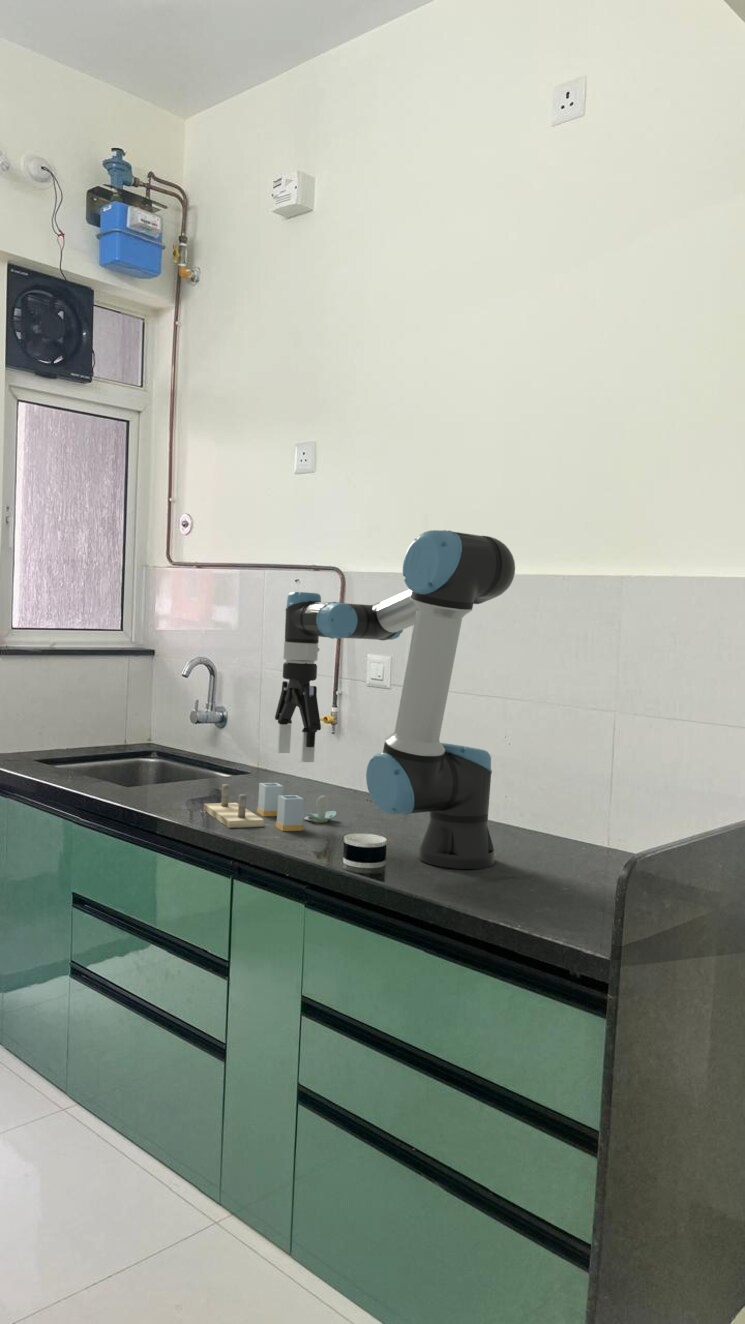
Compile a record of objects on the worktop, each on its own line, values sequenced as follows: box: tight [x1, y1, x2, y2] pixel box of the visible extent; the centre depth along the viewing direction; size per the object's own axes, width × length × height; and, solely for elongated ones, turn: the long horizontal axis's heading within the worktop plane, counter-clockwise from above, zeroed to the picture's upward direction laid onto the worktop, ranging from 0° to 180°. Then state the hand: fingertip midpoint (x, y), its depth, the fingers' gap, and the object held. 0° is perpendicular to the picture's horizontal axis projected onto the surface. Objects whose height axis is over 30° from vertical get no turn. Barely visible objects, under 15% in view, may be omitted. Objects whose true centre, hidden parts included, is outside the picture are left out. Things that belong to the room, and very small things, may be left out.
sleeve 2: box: [275, 794, 305, 832], centre depth 223 cm, size 5×5×7 cm
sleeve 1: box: [256, 782, 284, 817], centre depth 238 cm, size 5×5×7 cm
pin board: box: [203, 783, 265, 829], centre depth 231 cm, size 20×8×6 cm, turn 25°
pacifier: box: [303, 795, 337, 823], centre depth 234 cm, size 7×6×6 cm
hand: (295, 757), depth 224 cm, fingers open, 13 cm apart
